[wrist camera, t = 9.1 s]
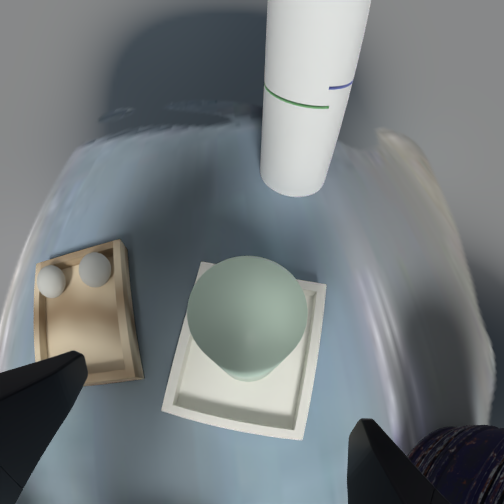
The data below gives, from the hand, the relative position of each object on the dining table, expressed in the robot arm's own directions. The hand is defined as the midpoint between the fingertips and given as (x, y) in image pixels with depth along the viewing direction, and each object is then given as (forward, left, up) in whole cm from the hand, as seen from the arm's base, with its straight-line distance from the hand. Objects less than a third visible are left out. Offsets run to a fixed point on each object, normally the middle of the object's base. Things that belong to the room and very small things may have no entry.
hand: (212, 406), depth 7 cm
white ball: (+15, -3, -13) cm, 20 cm away
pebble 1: (+19, 0, -13) cm, 23 cm away
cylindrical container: (+4, -23, -14) cm, 27 cm away
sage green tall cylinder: (+1, -4, -13) cm, 13 cm away
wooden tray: (+15, +1, -13) cm, 20 cm away
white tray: (+1, -4, -13) cm, 14 cm away
